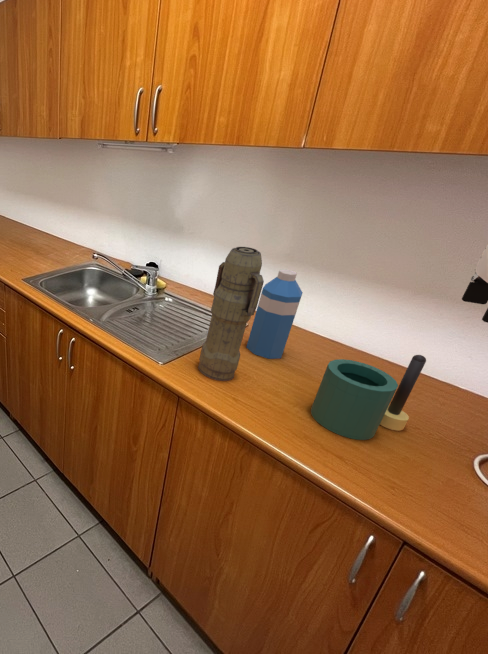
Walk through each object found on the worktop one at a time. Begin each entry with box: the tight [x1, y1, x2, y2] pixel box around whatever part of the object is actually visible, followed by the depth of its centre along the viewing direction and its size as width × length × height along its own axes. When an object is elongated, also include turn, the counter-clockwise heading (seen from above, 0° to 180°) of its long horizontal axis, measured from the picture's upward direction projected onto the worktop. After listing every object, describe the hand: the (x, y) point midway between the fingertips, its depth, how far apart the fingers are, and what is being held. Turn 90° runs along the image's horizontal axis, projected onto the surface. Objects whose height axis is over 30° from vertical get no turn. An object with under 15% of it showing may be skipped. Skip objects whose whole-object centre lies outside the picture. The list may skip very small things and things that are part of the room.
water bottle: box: [245, 268, 303, 360], centre depth 112 cm, size 9×9×25 cm
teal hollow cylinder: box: [310, 358, 399, 441], centre depth 87 cm, size 11×11×13 cm
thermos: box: [197, 246, 265, 382], centre depth 101 cm, size 9×12×35 cm
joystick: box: [379, 354, 427, 432], centre depth 86 cm, size 5×5×18 cm
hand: (483, 312), depth 74 cm, fingers open, 9 cm apart
